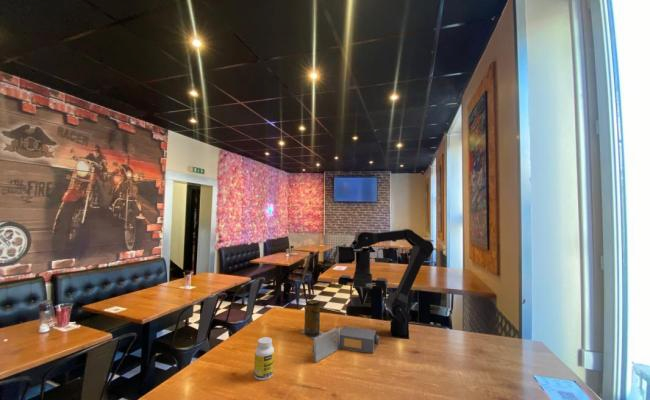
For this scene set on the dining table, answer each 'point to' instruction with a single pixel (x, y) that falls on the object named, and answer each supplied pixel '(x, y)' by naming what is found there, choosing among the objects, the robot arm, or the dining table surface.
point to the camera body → (357, 339)
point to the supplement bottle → (264, 359)
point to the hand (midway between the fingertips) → (362, 304)
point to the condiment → (312, 319)
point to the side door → (325, 344)
